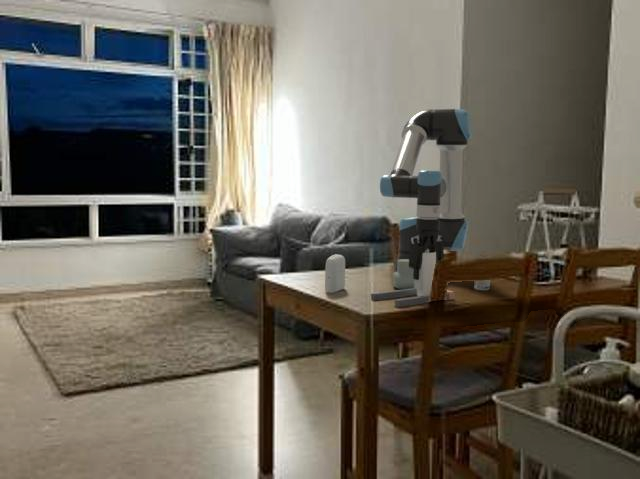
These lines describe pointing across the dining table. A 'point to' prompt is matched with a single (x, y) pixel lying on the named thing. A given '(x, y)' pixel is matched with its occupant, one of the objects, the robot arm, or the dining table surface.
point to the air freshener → (403, 275)
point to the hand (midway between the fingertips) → (425, 288)
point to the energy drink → (482, 284)
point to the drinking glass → (427, 272)
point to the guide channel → (407, 300)
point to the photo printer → (335, 273)
